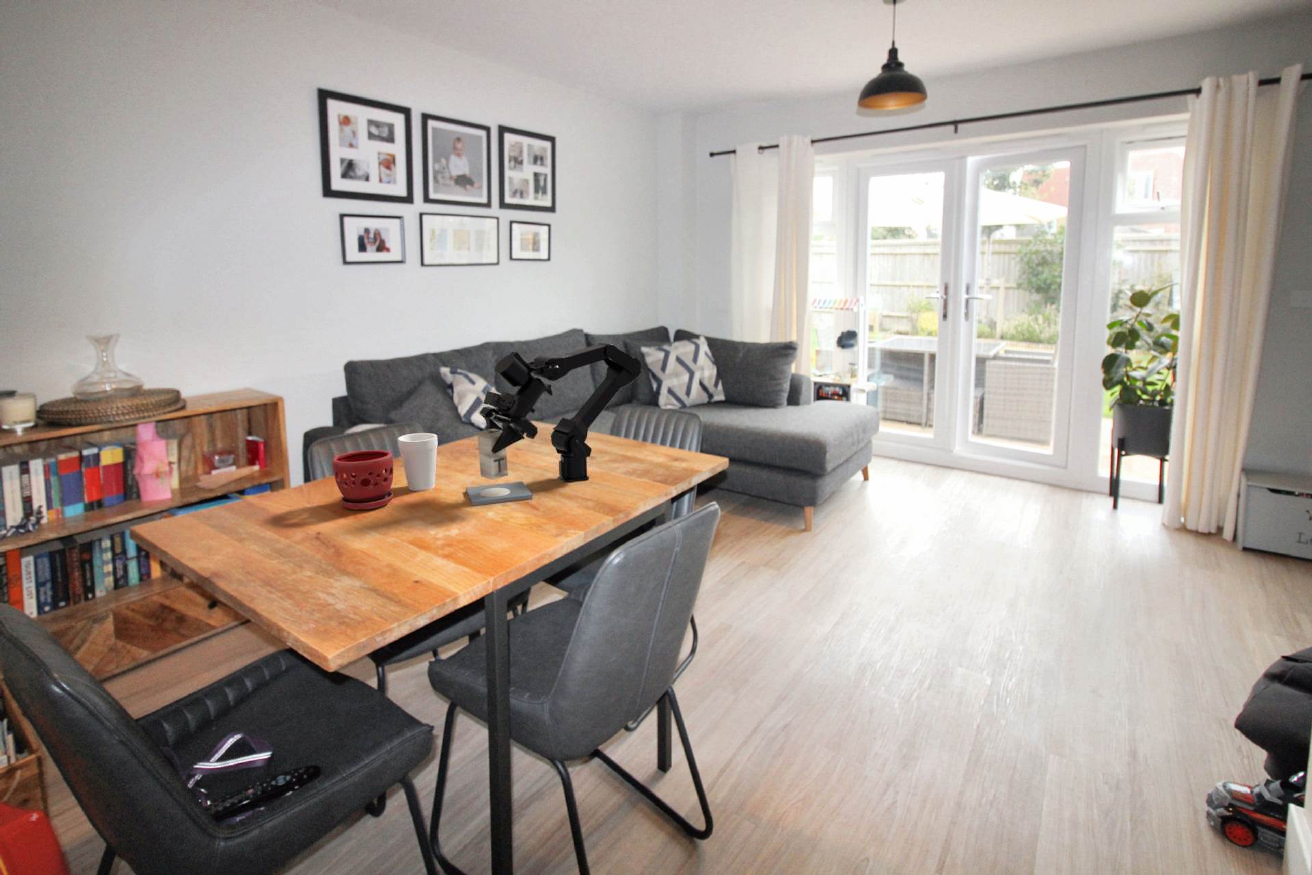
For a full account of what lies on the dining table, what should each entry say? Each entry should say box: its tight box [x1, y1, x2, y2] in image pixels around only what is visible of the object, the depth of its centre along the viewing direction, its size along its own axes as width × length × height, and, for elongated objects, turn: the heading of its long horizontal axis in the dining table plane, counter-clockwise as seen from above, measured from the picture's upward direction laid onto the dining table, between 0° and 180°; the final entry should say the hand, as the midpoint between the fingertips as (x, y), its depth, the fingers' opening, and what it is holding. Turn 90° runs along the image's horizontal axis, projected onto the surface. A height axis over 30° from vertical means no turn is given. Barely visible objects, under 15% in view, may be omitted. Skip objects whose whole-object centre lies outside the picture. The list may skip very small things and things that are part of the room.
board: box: [465, 480, 533, 507], centre depth 182 cm, size 14×12×1 cm
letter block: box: [476, 429, 509, 480], centre depth 178 cm, size 5×5×11 cm
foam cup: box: [397, 432, 439, 492], centre depth 187 cm, size 10×9×13 cm
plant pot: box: [331, 449, 394, 511], centre depth 174 cm, size 13×13×12 cm
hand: (487, 450), depth 177 cm, fingers closed on letter block, 5 cm apart
